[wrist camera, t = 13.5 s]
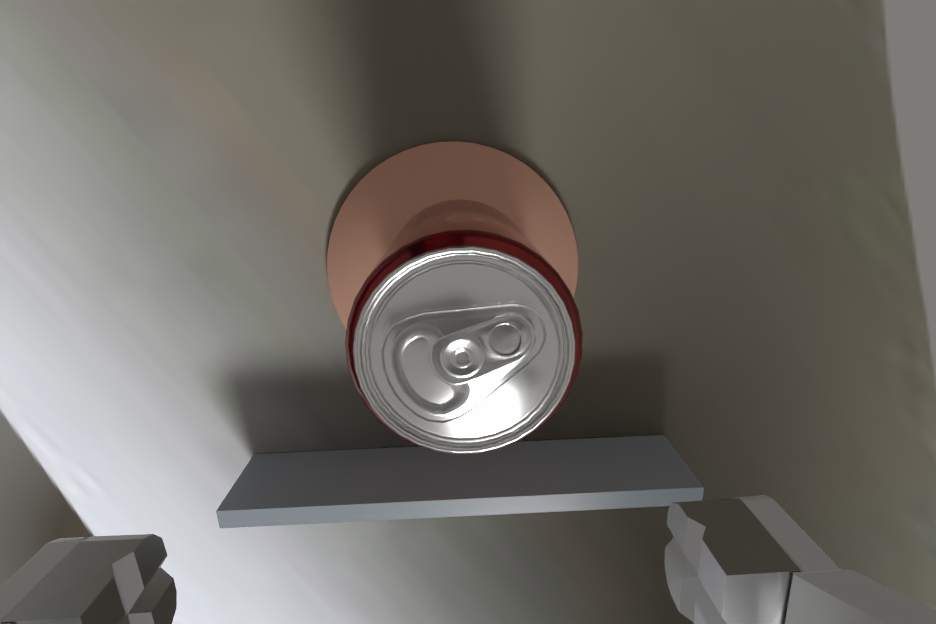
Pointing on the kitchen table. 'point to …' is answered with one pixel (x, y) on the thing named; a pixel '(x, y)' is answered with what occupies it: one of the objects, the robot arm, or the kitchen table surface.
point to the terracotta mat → (433, 181)
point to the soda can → (463, 332)
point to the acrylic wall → (458, 482)
